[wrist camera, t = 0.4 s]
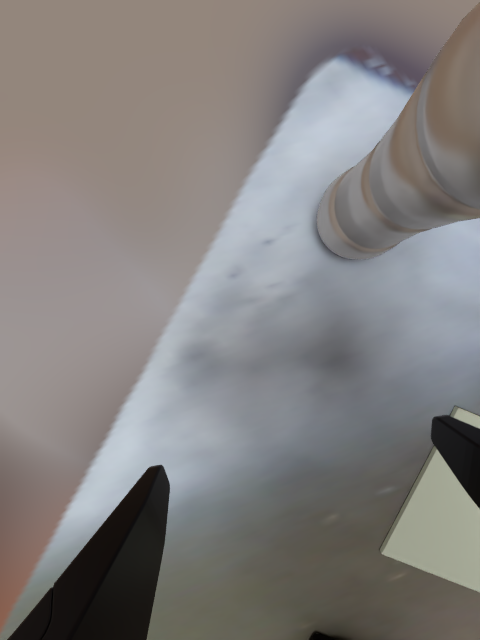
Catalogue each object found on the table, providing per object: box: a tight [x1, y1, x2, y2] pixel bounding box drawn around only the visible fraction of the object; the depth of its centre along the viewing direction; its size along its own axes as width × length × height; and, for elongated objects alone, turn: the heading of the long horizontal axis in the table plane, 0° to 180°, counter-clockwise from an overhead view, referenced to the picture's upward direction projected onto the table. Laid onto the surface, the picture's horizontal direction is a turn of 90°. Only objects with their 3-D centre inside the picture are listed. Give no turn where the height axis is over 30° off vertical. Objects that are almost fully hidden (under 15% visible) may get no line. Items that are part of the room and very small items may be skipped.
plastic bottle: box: [317, 2, 480, 259], centre depth 13 cm, size 6×7×20 cm
